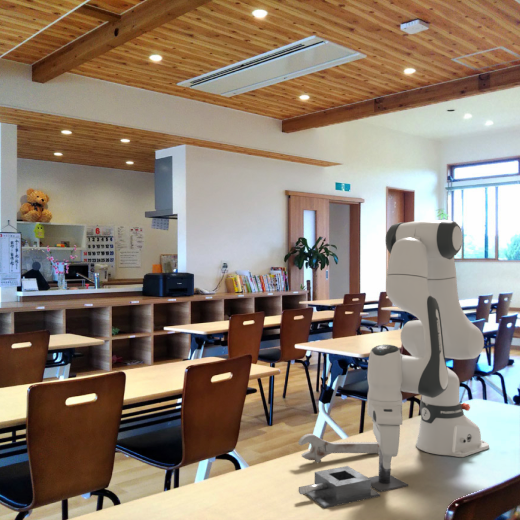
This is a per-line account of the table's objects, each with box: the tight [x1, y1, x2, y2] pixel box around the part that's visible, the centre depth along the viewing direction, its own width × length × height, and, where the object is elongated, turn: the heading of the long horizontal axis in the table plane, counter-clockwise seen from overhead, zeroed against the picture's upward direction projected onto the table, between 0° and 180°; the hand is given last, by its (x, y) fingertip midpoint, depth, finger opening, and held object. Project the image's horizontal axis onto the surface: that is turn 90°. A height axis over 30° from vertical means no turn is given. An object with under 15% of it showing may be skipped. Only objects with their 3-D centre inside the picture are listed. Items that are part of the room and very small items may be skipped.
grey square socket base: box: [298, 465, 381, 509], centre depth 143 cm, size 19×12×4 cm, turn 116°
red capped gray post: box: [378, 445, 392, 484], centre depth 150 cm, size 4×4×10 cm
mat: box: [368, 474, 409, 493], centre depth 150 cm, size 9×8×1 cm
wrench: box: [298, 433, 378, 463], centre depth 169 cm, size 8×2×30 cm
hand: (384, 462), depth 150 cm, fingers open, 7 cm apart
